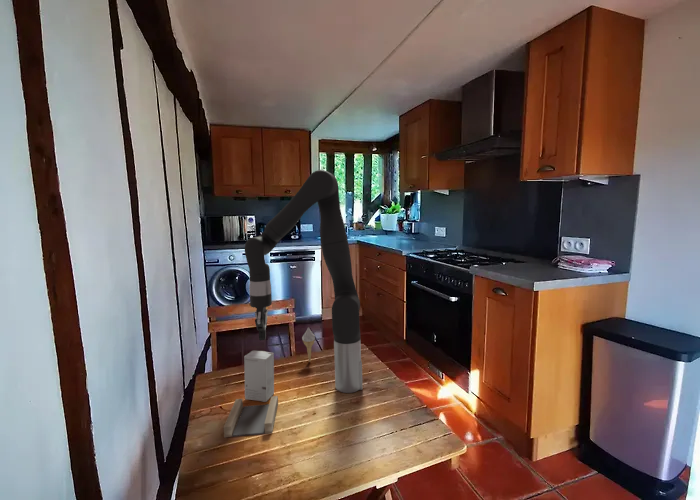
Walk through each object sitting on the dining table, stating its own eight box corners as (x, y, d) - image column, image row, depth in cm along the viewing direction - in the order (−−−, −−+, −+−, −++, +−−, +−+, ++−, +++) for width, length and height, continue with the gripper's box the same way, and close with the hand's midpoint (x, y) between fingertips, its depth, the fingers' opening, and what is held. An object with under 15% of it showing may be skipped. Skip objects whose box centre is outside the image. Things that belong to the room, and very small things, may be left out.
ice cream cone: (317, 359, 139) (316, 324, 137) (314, 365, 133) (313, 329, 132) (304, 358, 139) (303, 324, 138) (301, 364, 134) (299, 329, 132)
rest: (278, 404, 106) (277, 395, 105) (272, 433, 92) (271, 423, 92) (236, 408, 105) (235, 399, 104) (224, 437, 91) (223, 427, 90)
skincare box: (244, 399, 109) (241, 356, 108) (254, 390, 115) (251, 349, 114) (267, 402, 107) (265, 358, 106) (276, 392, 113) (274, 351, 111)
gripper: (268, 296, 111) (270, 346, 113) (273, 288, 124) (275, 332, 126) (245, 297, 111) (248, 347, 112) (253, 288, 124) (255, 333, 125)
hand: (262, 339), depth 119 cm, fingers closed
